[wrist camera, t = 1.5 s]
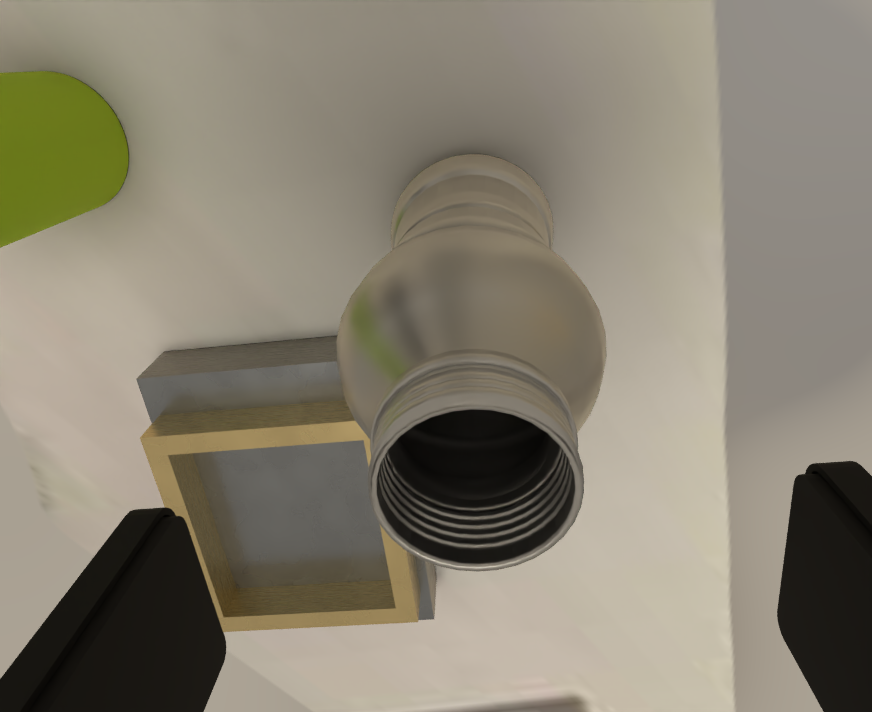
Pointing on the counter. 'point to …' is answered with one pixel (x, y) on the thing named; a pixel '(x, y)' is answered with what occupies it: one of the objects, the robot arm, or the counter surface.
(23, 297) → the counter surface
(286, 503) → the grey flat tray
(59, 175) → the soap dispenser
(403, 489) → the plastic bottle
